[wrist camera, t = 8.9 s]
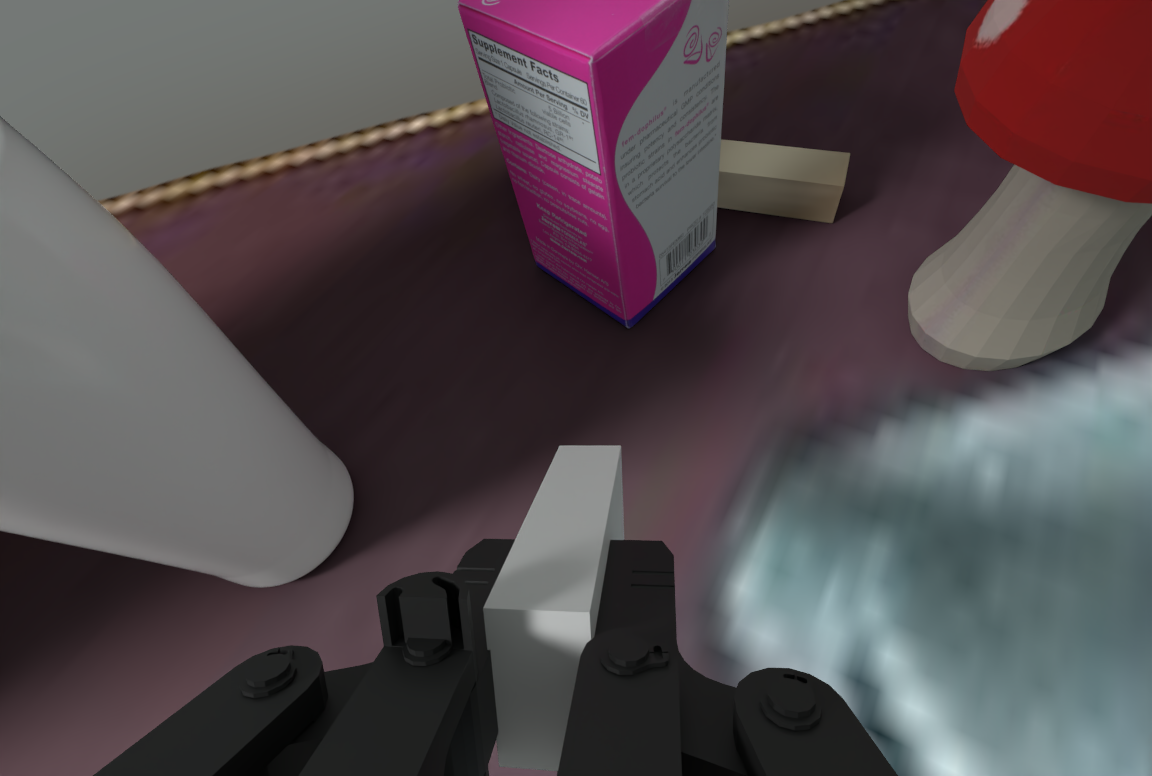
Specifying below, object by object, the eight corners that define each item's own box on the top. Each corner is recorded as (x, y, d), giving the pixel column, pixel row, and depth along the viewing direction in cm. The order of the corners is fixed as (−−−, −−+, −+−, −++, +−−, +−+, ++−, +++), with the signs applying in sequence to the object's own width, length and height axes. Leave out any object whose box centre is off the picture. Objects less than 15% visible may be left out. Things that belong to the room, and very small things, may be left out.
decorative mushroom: (1002, 193, 25) (1339, -365, 13) (1199, 335, 21) (2019, -295, 8) (803, 293, 24) (955, -212, 11) (969, 467, 20) (1517, -36, 7)
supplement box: (617, 191, 29) (590, -96, 19) (718, 248, 26) (748, -50, 16) (529, 265, 27) (449, -7, 17) (628, 334, 24) (600, 59, 15)
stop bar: (514, 179, 30) (505, 145, 28) (529, 152, 31) (520, 117, 29) (832, 223, 26) (844, 186, 24) (838, 191, 27) (850, 153, 25)
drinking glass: (199, 642, 20) (-612, 487, 7) (199, 466, 24) (-355, 147, 11) (393, 573, 21) (-50, 308, 8) (366, 409, 24) (26, 35, 11)
